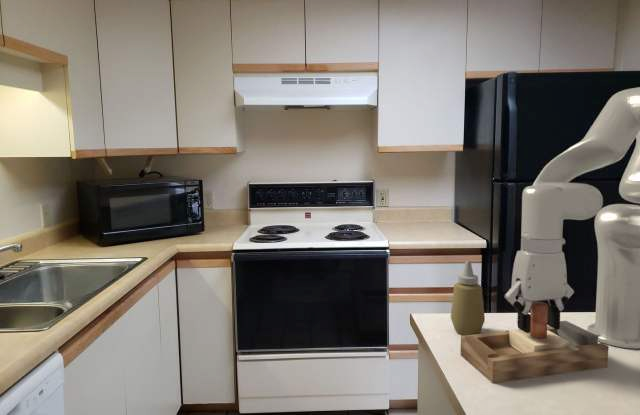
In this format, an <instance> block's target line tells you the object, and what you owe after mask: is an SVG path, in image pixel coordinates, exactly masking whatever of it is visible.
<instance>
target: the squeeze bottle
mask: <svg viewBox="0 0 640 415" xmlns="http://www.w3.org/2000/svg"><path fill="white" fill-rule="evenodd" d="M457 281H458V282H456V283H455V284H454V287H453V295H452V302H451V311H450V320H451V323H452V325H453V328H454V331H455V332H456V333H457V334H459V335H461V336H467V335H475V334H481V331H482V328H483V325H484V323H485V321H486V320H485V319H486V318H485V309H484V308H485V307H484V296H483V287H482V285H480V284H479V276H478V275H476V274H474V270H473V266H472V262H471V261H470V260H466V261H465V264H464V267H463V271H462V273H460V274H458V275H457Z"/></svg>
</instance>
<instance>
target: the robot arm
mask: <svg viewBox="0 0 640 415" xmlns="http://www.w3.org/2000/svg"><path fill="white" fill-rule="evenodd" d="M634 140H636V142H635V147H634V149H633V152H632V154H631V157H630V159H629V161H628V163H627V166H626V168H625V170H624V172H623V175H622V177H621V180H620V182H619V187H618V193H619V195H620V196H621V198H622V199H624V200H625V201H628V202H630V203H634V204H629V203H627V204H626V203H614V204H608V205H606V206H603V204H604V198H603V195H602V193H601V192H600V190H599V189H598V188H596V187H595V186H593V185H590V184H588V183H580V182H579V183H578V182H571V181H572V180H573V179H575V178H576V177H579V176H581V175H583V174H586V173H588V172H592V171H595V170H598V169H602V168H605V167H606V166H607V167H608V166H609V165H613V164H615V163H617V162H619V161H620V160H622V159H623V158H624V157H625V155H626V154H627V152H628V150H629V149H630V147H631V145H632V144H633V142H634ZM521 195H522V196H521V233H520V234H521V235H520V237H521V238H520V250H517V251H516V255H515V258H514V262H513V267H512V274H511V287H510V288H509V290H508V291H507V292H506V293H505V294H504V298H505V300H506V301H507V302H508V303H509V304H510V305H511V306H512V307H513V308H514V309H515V311H517V321H516V322H517V324H516V325H517V328H518V329H521V330H522V331H524V332H526V333H530V329H531V315H530V314H529V313H530V310H531V305H532V302H533V301H539V302H543V301H547V302H548V315H547V326H550V327H552V328H554V329H556V330H558V329H560V321H561V312H563V310H564V309H565V307H564V306H565V305H566V304H567V303H568V302H569V299H570V298H571V297H572V295H573V294H574V293H575V291H574V289H573V288H572V287H571V286H570V285H569V283H568V279H567V278H568V277H567V276H568V274H567V273H568V272H567V263H566V258H565V253H564V252H563V245H565V244H566V240H565V238H563V228H564V226H563V225H564V220H577V221H583V220H589V219H591V218H594V232H595V237H596V242H597V244H596V245H597V277H596V278H597V279H596V300H595V302H596V303H595V317H594V318H595V321H594V322H595V323H592V324H589V325H588V326H587V328H586V330H587V331H589V332H591V333H593V334H595V335H597V336H598V342H600V343H603V344H605V345H609V346H612V347H613V346H614V347H616V348H617V347H618V348H624V349H635V350H637V349H638V350H639V349H640V205H639V204H640V87H639V86H638V87H634V88H633V87H632V88H627V89H623V90H621V91H617V92H616V93H615V94H613V95H611V97H610V98H609V99H608V100H607V102H606V104H605V105H604V107H603V108H602V109H601V111H600V112H599V114H598V116H597V117H596V119H595V120H594V122H593V124H592V125H591V126H590V128H589V130H588V131H587V133H586V134H585V136H584V137H583V138H582V139H581V140H580V141H579V142H577V143H575V144H573V145H571V146H570V147H568V148H567V149H566V150H564V151H563V152H562V153H559V154H558V155H557V156H555V157H554V158H553V159H551V160H550V161H549V162H548V163H547V164H546V165H545V166H544V167H543V168H542V170H540V173H539V174H538V175H537V177H536V179H535V180H534V182H533V183H532V185H529V186H525V187H524V189H523V191H522V194H521ZM516 297H518V299H517V298H516Z"/></svg>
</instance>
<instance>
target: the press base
mask: <svg viewBox="0 0 640 415" xmlns="http://www.w3.org/2000/svg"><path fill="white" fill-rule="evenodd" d="M547 330H549V331H551V332H552V333H554V334H556V335H558V336H560V337H562V338H563V339H565V340H567V341H569V346H568V347H567V348H559V349H552V350H544V351H536V352H528V353H521V352H520V351H518V350H517V349H515V348H514V347H512V346H511V345H509V330H504V331H503V330H502V331H495V332H484V333H480V334H475V335H467V336H466V335H461V336H460V356H461V358H463V359H465V360H466V361H467V362H468V363H469V364H470V365H471V366H472V367H474V368H475V369H476V370H477V371H478V372H479V373H480V374H482V376H484V377H485V378H486V380H488V381H490V382H491V383H492V384H494V383H495V384H496V383H504V382H511V381H517V380H518V381H519V380H524V379H530V378H537V377H545V376H552V375H560V374H566V373H572V372H574V373H575V372H581V371H586V370H588V371H589V370H595V369H596V370H597V369H602V368H608V364H609V349H610V348H609V346H610V345H609V346H608V344H606V343H603V342H600V343H599V341H598V336H597V335H595V334H593V333H591V332H589V331H587V329H584V328H582V327H581V326H579V325H576V324H574V323H572V322H570V321H568V320H560V329H558V330H556V329H554V328H552V327H550V326H549V325H547Z"/></svg>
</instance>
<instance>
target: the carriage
mask: <svg viewBox="0 0 640 415" xmlns="http://www.w3.org/2000/svg"><path fill="white" fill-rule="evenodd" d="M548 307H549V303H546V302H544V301H533V302H532V305H531V307H530V310H529V313H530V315H531V329H530V333H526V332H524V331H522V330H521V329H519V328H518V329H517V328H516V329H511V330H508V331H509V345H511V346H512V347H514V348H515V349H517V350H518V351H520V352H521V353H528V352H536V351H544V350H552V349H559V348H567V347H568V346H569V341H567V340H565V339H563V338H562V337H560V336H558V335H556V334H554V333H552V332H551V331H549V330H547V326H548V325H547V315H548Z"/></svg>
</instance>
